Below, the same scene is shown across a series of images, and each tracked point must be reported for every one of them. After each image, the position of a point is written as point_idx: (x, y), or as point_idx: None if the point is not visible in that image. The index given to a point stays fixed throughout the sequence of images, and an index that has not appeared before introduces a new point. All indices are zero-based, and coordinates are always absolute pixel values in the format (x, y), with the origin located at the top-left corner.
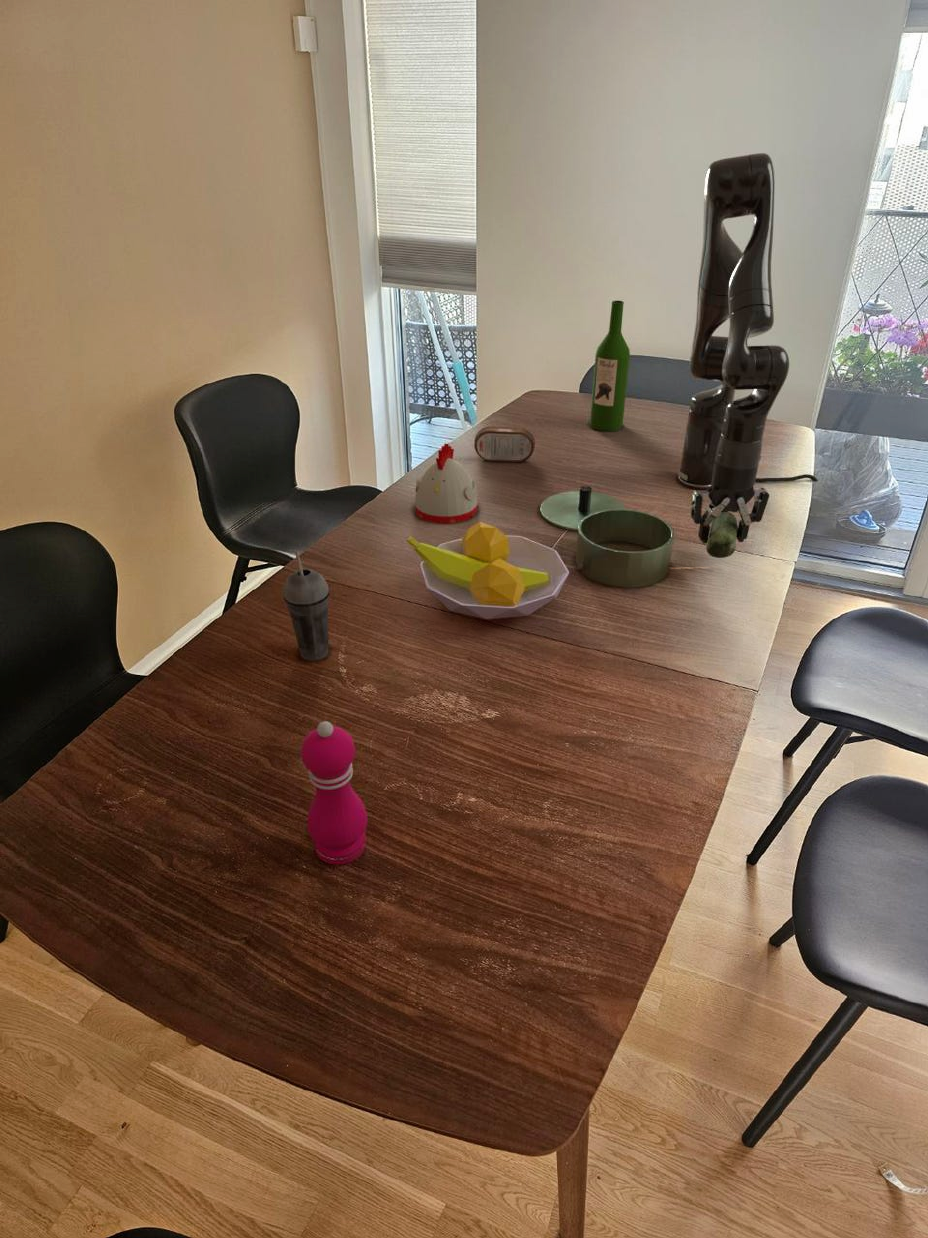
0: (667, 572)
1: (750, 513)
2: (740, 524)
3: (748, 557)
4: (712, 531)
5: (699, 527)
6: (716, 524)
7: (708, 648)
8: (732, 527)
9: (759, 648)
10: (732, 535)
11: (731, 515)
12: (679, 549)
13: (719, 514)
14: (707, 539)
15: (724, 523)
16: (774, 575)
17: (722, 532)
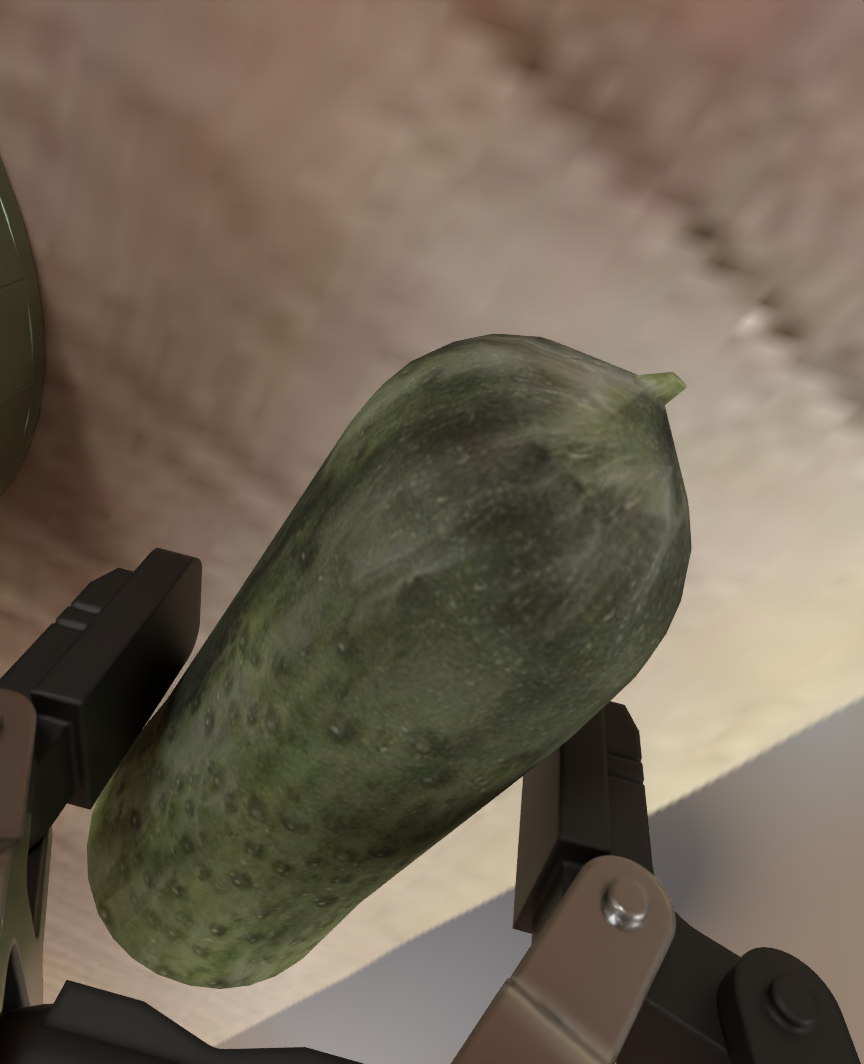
0: (14, 471)
1: (689, 1034)
2: (539, 847)
3: (781, 456)
4: (169, 753)
5: (30, 648)
6: (222, 747)
7: (89, 955)
8: (382, 870)
9: (274, 1010)
10: (304, 943)
11: (535, 711)
12: (219, 104)
13: (386, 573)
14: (169, 679)
15: (289, 839)
16: (753, 714)
17: (174, 950)
